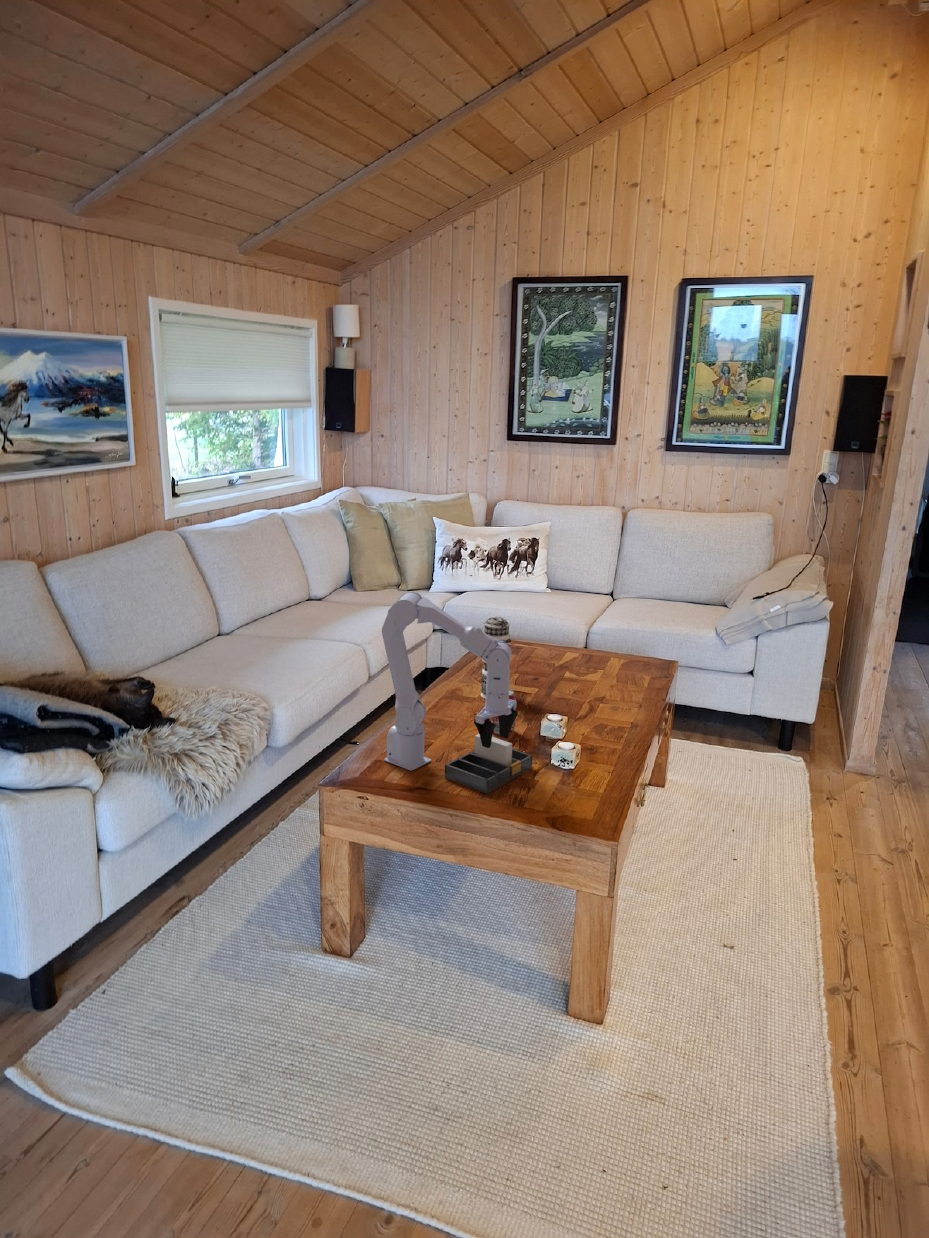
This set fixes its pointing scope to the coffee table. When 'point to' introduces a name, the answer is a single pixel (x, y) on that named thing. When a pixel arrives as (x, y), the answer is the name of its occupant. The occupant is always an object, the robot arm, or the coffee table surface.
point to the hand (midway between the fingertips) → (495, 742)
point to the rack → (486, 770)
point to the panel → (494, 750)
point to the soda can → (496, 720)
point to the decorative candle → (498, 630)
